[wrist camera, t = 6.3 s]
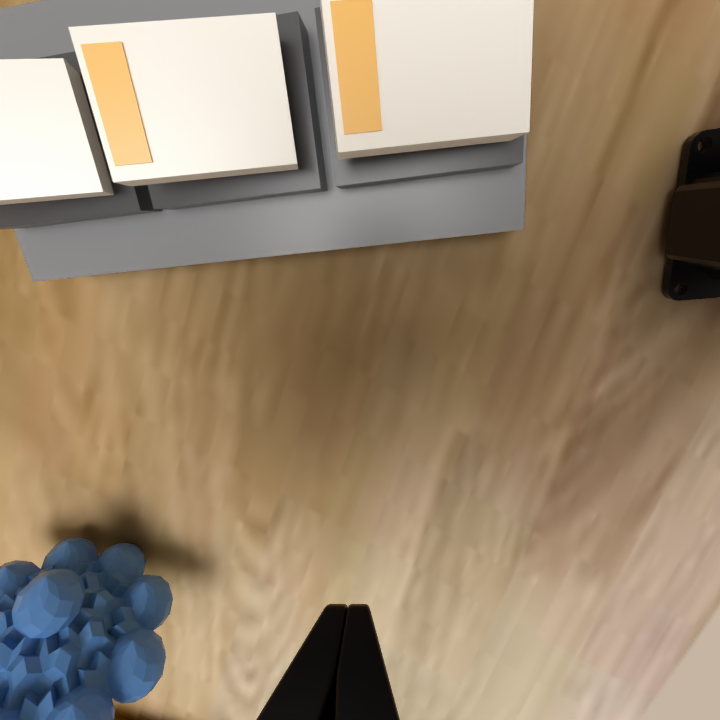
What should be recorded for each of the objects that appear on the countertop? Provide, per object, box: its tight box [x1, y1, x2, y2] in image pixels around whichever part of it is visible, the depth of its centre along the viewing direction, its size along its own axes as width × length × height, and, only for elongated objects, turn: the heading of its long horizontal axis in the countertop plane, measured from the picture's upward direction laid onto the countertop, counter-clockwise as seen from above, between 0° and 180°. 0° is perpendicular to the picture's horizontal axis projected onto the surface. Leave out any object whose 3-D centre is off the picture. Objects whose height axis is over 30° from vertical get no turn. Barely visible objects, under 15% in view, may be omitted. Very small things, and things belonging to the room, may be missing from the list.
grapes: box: [0, 537, 173, 720], centre depth 20 cm, size 12×7×12 cm, turn 81°
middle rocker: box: [68, 13, 298, 186], centre depth 12 cm, size 5×4×2 cm
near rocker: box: [320, 0, 534, 159], centre depth 11 cm, size 5×4×2 cm
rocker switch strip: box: [0, 0, 527, 282], centre depth 15 cm, size 20×9×4 cm, turn 96°
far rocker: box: [0, 58, 114, 205], centre depth 12 cm, size 5×4×2 cm
